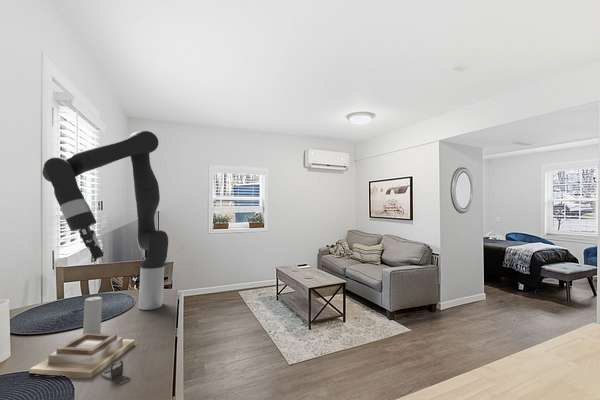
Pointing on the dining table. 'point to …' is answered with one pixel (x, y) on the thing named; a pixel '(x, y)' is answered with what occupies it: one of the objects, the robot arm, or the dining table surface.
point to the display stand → (84, 356)
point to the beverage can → (92, 315)
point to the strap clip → (116, 374)
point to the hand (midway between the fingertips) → (99, 257)
